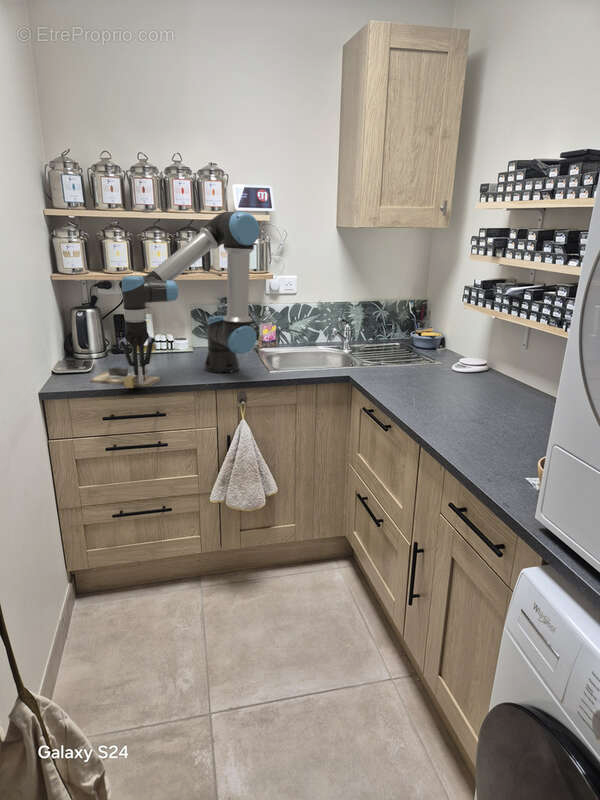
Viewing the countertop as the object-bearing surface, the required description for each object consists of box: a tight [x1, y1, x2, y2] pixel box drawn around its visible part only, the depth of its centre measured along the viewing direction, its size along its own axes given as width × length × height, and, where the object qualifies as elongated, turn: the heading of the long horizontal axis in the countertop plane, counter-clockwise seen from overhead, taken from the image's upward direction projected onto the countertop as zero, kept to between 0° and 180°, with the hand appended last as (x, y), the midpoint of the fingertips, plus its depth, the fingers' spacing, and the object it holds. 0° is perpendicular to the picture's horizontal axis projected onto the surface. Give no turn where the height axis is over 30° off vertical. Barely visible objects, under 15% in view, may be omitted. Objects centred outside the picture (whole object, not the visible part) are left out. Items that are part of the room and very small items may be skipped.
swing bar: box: [124, 366, 149, 389], centre depth 206 cm, size 16×4×4 cm, turn 176°
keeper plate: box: [89, 366, 132, 386], centre depth 214 cm, size 14×12×4 cm
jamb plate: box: [135, 373, 161, 388], centre depth 212 cm, size 10×10×4 cm
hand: (140, 383), depth 202 cm, fingers closed
